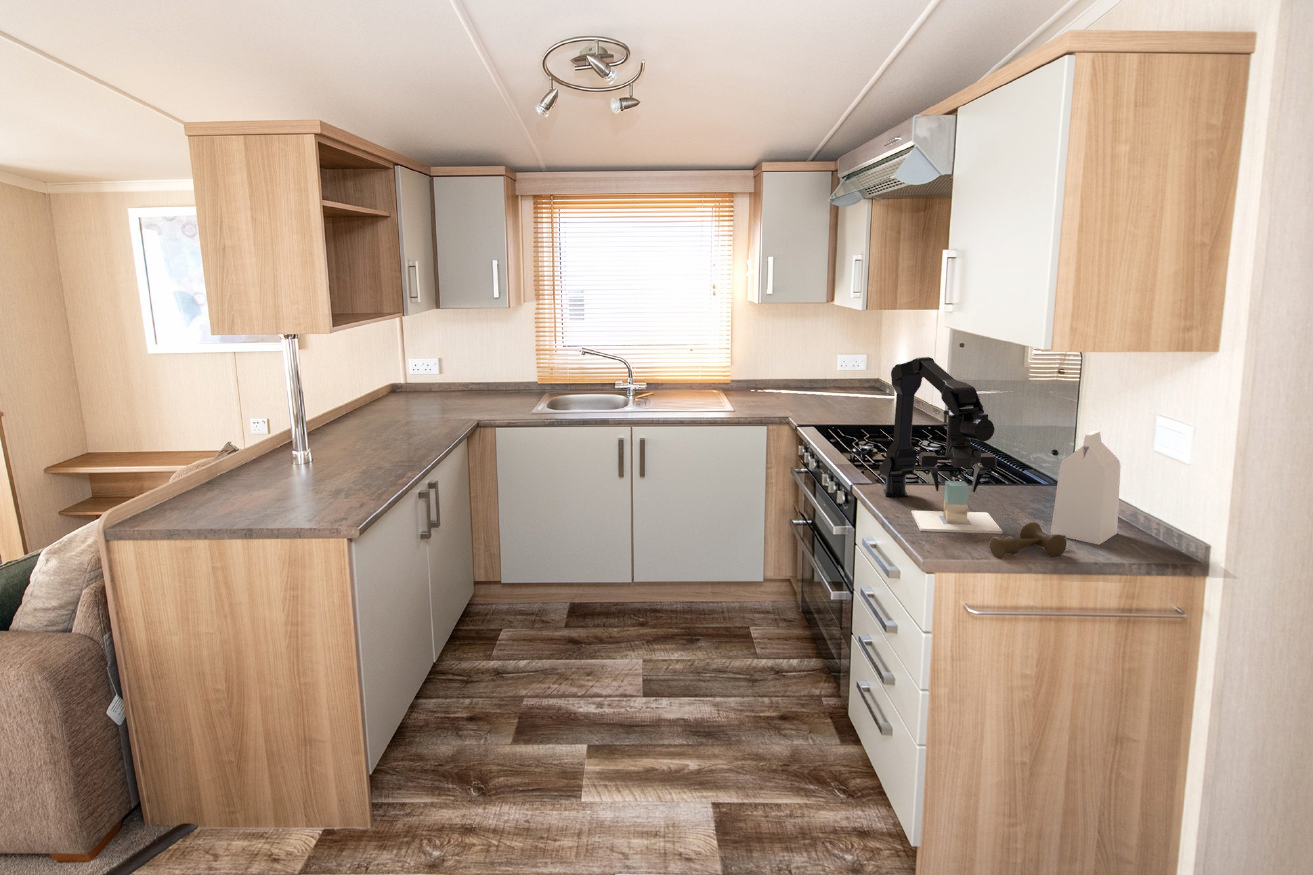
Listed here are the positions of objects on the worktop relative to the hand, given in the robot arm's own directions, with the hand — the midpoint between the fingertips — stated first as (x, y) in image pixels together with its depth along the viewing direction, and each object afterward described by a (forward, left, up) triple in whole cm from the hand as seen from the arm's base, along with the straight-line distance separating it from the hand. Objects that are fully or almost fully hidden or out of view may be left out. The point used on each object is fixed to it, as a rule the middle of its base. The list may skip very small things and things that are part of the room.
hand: (955, 491), depth 213 cm
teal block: (+1, 0, -3) cm, 3 cm away
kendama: (+23, +13, -9) cm, 28 cm away
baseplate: (+1, 0, -8) cm, 8 cm away
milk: (+7, +30, -9) cm, 32 cm away
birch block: (+1, 0, -8) cm, 8 cm away
